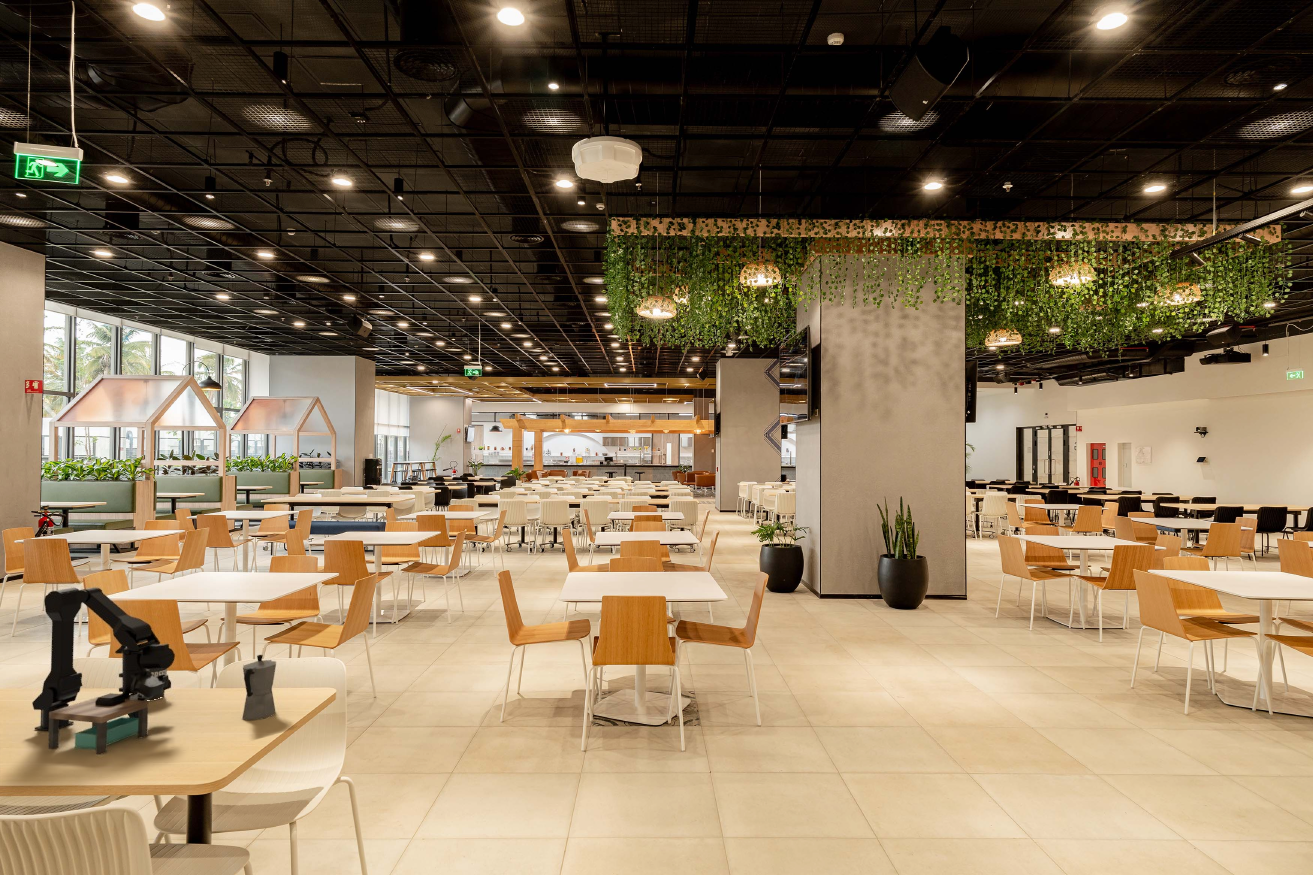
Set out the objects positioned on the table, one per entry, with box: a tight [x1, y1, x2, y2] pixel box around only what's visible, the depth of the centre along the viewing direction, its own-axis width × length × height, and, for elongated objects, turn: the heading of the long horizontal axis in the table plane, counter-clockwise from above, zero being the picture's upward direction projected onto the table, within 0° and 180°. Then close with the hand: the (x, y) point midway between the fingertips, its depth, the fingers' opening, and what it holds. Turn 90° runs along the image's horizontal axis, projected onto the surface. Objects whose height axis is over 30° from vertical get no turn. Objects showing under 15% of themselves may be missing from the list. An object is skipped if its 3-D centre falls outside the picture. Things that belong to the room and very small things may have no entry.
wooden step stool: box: [47, 696, 149, 755], centre depth 194 cm, size 18×13×10 cm
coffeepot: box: [242, 654, 277, 721], centre depth 213 cm, size 15×9×18 cm, turn 6°
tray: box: [74, 716, 138, 750], centre depth 196 cm, size 7×13×4 cm, turn 166°
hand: (134, 722), depth 203 cm, fingers closed
